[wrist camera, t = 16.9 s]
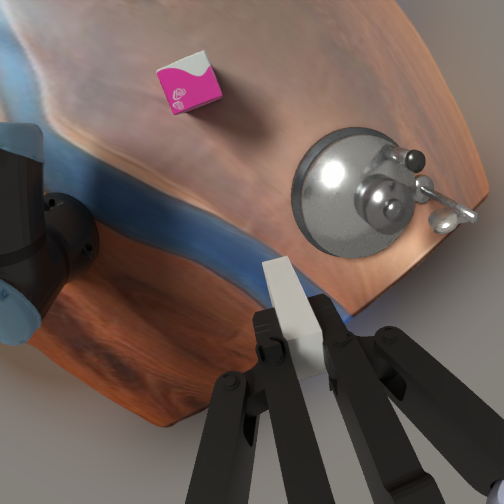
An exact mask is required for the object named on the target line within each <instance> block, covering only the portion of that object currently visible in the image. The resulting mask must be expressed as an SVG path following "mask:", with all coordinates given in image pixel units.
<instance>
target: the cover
mask: <svg viewBox="0 0 504 504" xmlns="http://www.w3.org/2000/svg"><path fill="white" fill-rule="evenodd" d="M354 206H355V209H356V212H357V214H358V215H359V216H360V217H361V218H362V219H363V220H364V221H365V222H366V223H368V224H369V225H370V226H371V227H372V228H373V229H375V230H376V231H377V232H379V233H381V234H384V235H391V234H395V233H397V232H399V231H401V230H402V229H403V228H404V227H405V226H406V225H407V224H408V223H409V221H410V219H411V217H412V215H413V212H414V197H413V194H412V192H411V190H410V189H409V188H408V187H407V186H406V185H405V184H403V183H401V182H399V181H397V180H395V179H393V178H391V177H388V176H386V175H384V174H373V175H370V176H368V177H367V178H365V179H364V180H363V181H362V182H361V183H360V184H359V186H358V188H357V190H356V192H355V197H354Z"/></svg>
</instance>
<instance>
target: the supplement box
mask: <svg viewBox="0 0 504 504" xmlns="http://www.w3.org/2000/svg"><path fill="white" fill-rule="evenodd" d="M156 73H157V76H158V78H159V80H160V83H161V85H162V88H163V90H164V93H165V95H166V97H167V100H168V102H169V105H170V107H171V109H172V112H173V114H174V115H177V114H181V113H186V112H189V111H191V110H194V109H197V108H199V107H202V106H204V105H207V104H209V103H212V102H215V101H217V100H220V99H222V96H223V94H222V91H221V88H220V85H219V83H218V80H217V78H216V75H215V73H214V70H213V68H212V66H211V63H210V61H209V59H208V56H207V54H206V52H205V50H203V51H200V52H198V53H195V54H193V55H190V56H188V57H185V58H183V59H181V60H178V61H176V62H174V63H172V64H169V65H167V66H165V67H163V68H161V69H159V70H156Z"/></svg>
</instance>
